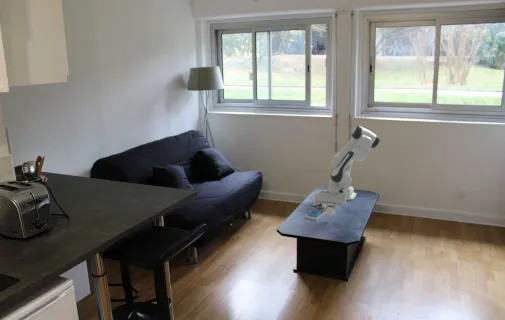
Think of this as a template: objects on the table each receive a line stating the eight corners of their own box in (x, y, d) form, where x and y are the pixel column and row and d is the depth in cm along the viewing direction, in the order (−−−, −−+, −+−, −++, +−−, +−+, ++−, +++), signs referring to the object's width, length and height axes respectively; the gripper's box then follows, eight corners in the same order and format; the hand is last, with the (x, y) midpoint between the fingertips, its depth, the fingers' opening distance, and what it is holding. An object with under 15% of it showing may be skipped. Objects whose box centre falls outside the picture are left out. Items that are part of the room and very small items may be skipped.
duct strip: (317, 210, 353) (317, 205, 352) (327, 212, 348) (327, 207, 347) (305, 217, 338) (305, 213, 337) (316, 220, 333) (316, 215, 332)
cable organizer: (322, 209, 353) (322, 195, 351) (312, 206, 361) (312, 192, 358) (334, 204, 363) (334, 191, 360) (324, 201, 371) (324, 188, 368)
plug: (328, 212, 333) (328, 202, 331) (333, 213, 332) (334, 203, 330) (327, 214, 330) (327, 204, 328) (332, 215, 328) (333, 205, 326)
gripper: (319, 188, 336) (316, 205, 330) (346, 191, 330) (344, 208, 323) (320, 192, 342) (317, 209, 335) (347, 195, 335) (344, 212, 328)
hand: (330, 208), depth 329 cm, fingers closed on plug, 4 cm apart
